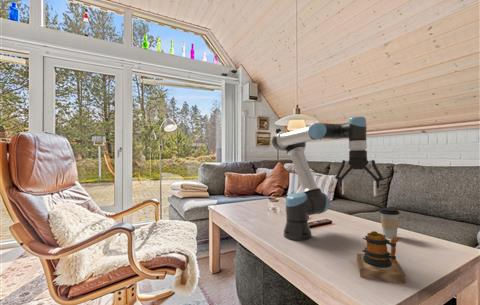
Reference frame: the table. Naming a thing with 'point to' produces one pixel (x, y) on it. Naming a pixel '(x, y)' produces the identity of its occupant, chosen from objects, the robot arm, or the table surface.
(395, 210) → the coffee cup
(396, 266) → the base
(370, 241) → the mug
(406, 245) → the table surface
